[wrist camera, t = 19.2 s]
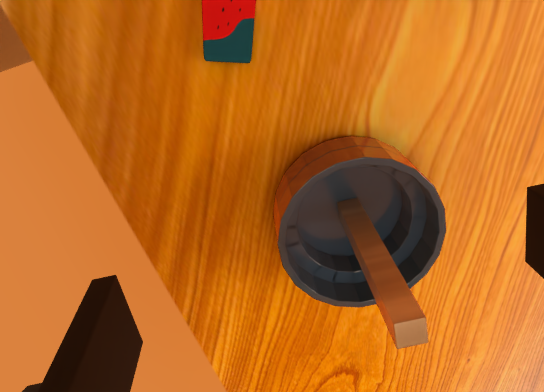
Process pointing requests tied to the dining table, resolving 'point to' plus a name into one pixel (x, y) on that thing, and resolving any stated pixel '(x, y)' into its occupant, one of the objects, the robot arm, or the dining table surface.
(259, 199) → the dining table surface
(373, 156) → the mixing bowl
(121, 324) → the robot arm
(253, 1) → the popsicle
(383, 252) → the stirring stick
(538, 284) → the dining table surface
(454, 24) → the dining table surface
